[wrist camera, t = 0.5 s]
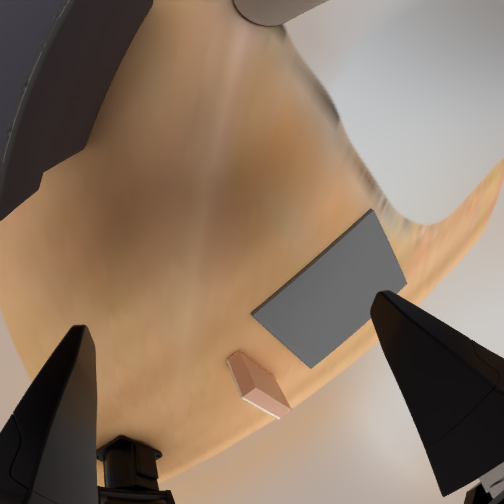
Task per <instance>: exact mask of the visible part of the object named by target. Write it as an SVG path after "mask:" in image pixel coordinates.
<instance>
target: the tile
mask: <svg viewBox="0 0 504 504" xmlns="http://www.w3.org/2000/svg"><path fill="white" fill-rule="evenodd" d="M226 361H227V363H228V366H229V369H230V371H231V374H232V376H233V379H234V381H235V384H236V386H237V389H238V391H239V394H240V396H241V398H242V399H244V400H245V401H247V402H249V403H251V404H252V405H254V406H256V407H258V408H259V409H261V410H263V411H265V412H267V413H268V414H270V415H272V416H274V417H276V418H278V419H280V418H281V417H282V416H284V415H285V414H287V413H288V412H290V411H291V410H292V409H291V407H290V405H289V404H288V402H287V400H286V398H285V396H284V394H283V392H282V391H281V389H280V387H279V385H278V383H277V381H276V379H275V377H274V376H273V375H272V374H271V373H269V372H268V371H267V370H265V369H264V368H262V367H261V366H260V365H258V364H257V363H256V362H254V361H253V360H252V359H251V358H249V357H248V356H247V355H245V354H244V353H243V352H241V351H240V350H238V351H237V352H235V353H234V354H233V355H232V356H230V357H229V358H228V359H226Z"/></svg>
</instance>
